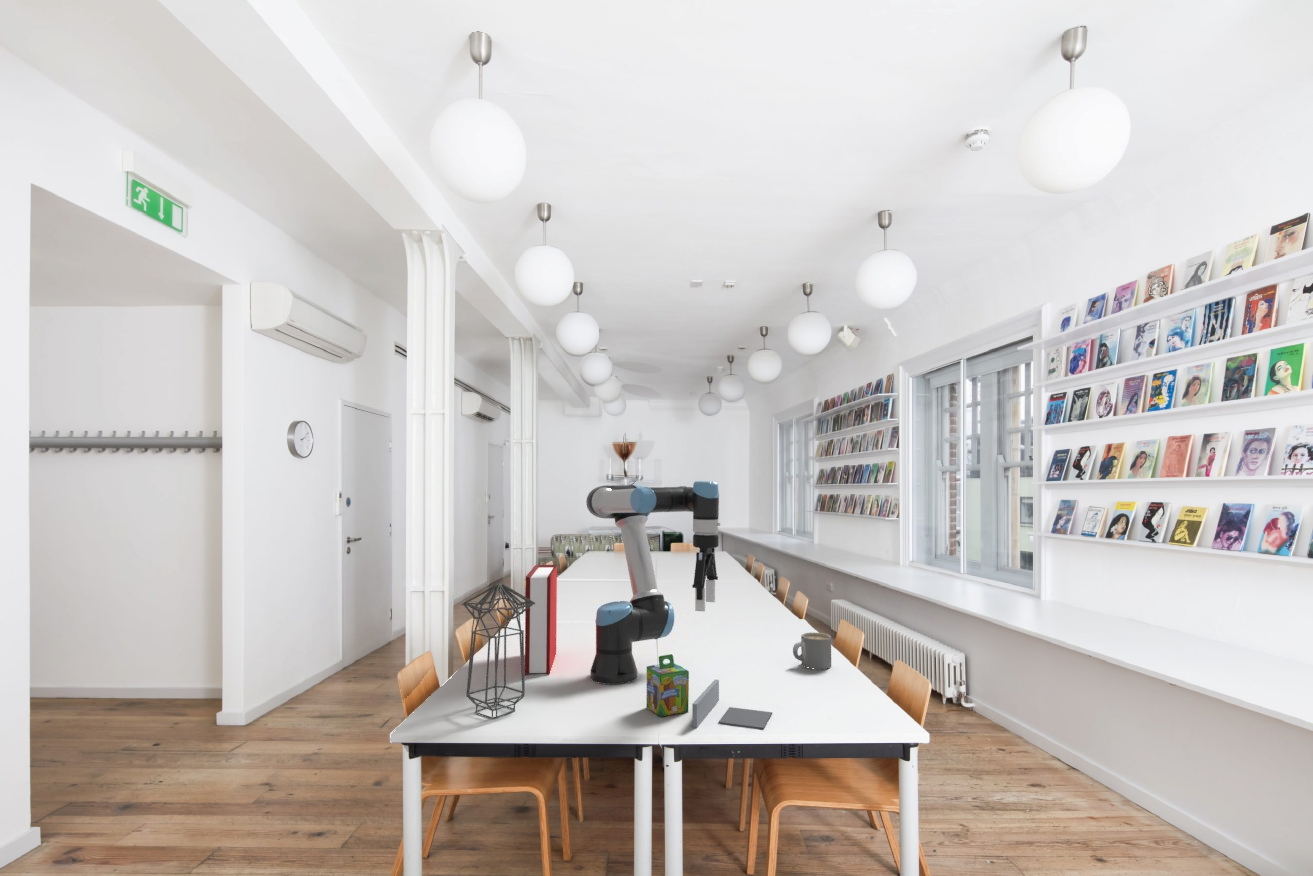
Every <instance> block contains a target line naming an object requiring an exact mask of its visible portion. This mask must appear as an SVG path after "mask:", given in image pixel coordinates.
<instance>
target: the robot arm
mask: <svg viewBox="0 0 1313 876" xmlns="http://www.w3.org/2000/svg"><path fill="white" fill-rule="evenodd" d="M719 507H720V493H719V484H718V482H716V481H715V480H712V481H711V480H696V481H694V482H693V485H692V486H685V485H683V486H681V485H680V486H665V487H663V486H662V487H661V486H660V487H658V486H657V487H656V486H655V487H648V486H642V485H634V484H622V485H621V484H620V485H618V484H617V485H613V484H612V485H600V486H599V485H598V486H597V487H595V488H593V489H592V490H590V491H589V493H588V494H587V497H586V508H587V510H588V511H589V513H590V514H591V515H592V516H594V517H596V518H599V519H605V520H607V519H614V524H615V527H617V528H619V529H620V532H621V539H622V542H623V549H624V554H625V555H624V556H625V560H626V564H627V571H628V574H629V575H628V576H629V581H630V585H631V586H630V587H631V592H632V597H631V599H630V600H629V601H626V600H621V601H611V602H607V603H604V604H601V606H599V607H598V608H597V610H596V616H595V617H596V618H595V655H594V659H593V661H592V666H591V668H590V680H591V679H592V680H591V681H593V682H595V683H598V682H599V683H598V684H603V683H605V684H604V685H622V684H627V683H631V682H633V681H635V680H636V679H638V667H637V665H636V661H635V658H634V654H633V643H635V642H642V641H649V640H658V639H661V638H666V637H667V636H669V635H670V633H672V631H673V627H674V625H675V612H674V611H675V610H674V607H673V605H672V604H671V603H670V602H669V601H667V600H665V598H664V594H663V593H662V592H660V591H659V588H658V585H657V580H656V575H655V570H654V565H653V560H652V555H651V550H650V545H649V541H648V540H649V539H648V533H647V529H646V522H647V521H648V519H649V515H650V514H652V513H675V512H676V513H678V512H679V513H681V512H682V513H683V512H689V513H690V512H691V513H692V517H693V518H692V532H693V533H694V534H693V535H692V546H693V547H694V548H699V552H696V554H695V555H696V556H695V557H696V558H695V559H696V560H695V566H694V569H695V570H694V579H693V584H692V585H691V586H692V588H693V589H694V593H695V597H694V598H695V599H694V600H695V601H694V602H695V604H694V606H695V608H694V609H695V612H706V603H716V581H717V580H719V577H718V574H717V566H716V565H717V564H716V556H715V555H716V554H715V552H716V551H715V549H716V548H718V547H719V538H720V537H719V534H718V533H719V527H721V523H720V522H719V513H720V512H719V510H720V508H719Z"/></svg>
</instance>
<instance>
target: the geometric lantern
mask: <svg viewBox="0 0 1313 876" xmlns="http://www.w3.org/2000/svg"><path fill="white" fill-rule="evenodd" d="M484 594H485V595H484ZM497 594H498V597H497ZM482 595H484V596H482ZM491 595H492V596H491ZM480 596H482V598H481V599H480V600H478V601H477V602H476V601H475V602H471V601H473V600H475V599H477V598H479V597H480ZM489 597H490V601H488V600H489ZM518 597H519V598H520V599H522V600H524V601H521V600H520V599H519V598H518ZM501 600H502V603H503V606H504V607H503V606H502V607H501V606H499V605H500V601H501ZM526 601H527V602H526ZM506 602H507V603H506ZM487 604H488V608H487V607H486V608H485V607H484V608H483V606H484V605H487ZM507 604H508V605H509V606H510V607H507ZM525 604H527V605H525ZM533 604H534V605H535V602H533V601H531V600H530V599H528V598H526V596H524V595H522V594H521V593H520V592H518V591H516V590H514V589H513V588H511V587H509V586H507V585H506V584H504V583H495V584H494V585H492V586H490V587H488V589H486V590H484V591H482V592H480V593H478V594H477V595H475V596H473V597H471V598H469V599H467V600H465V601H464V602H463V603H461V605H462V606H463V607H464V608H465V609H466V610H467V611H468V613H469V614H470V615H471V616H472V620H473V621H472V626H471V630H470V631H471V633H470V634H471V635H470V647H469V648H470V649H469V661H468V670H467V671H468V672H467V683H466V695H465V696H466V698H468V699H469V700H470V701H471V703H473V704H474V706H475V711H474V712H475V714H476V713H477V715H479V714H480V716H482V715H483V717H485V716H486V718H488V719H492V720H495V719H498V718H500V716H501V717H504V716H506V715H509V714H511V712H512V713H515V712H516V704H517V703H519V702H520V701H521V700H522V699H524V697H525V696H526V691H525V690H526V688H525V687H526V686H525V684H526V683H525V681H526V679H525V636H524V635H525V630H522V628H521V627H522V626H521V616H520V615H522V614H524V613H525V611H526V610H527V609H528V608H529V607H531V606H532V605H533ZM496 606H497V607H496ZM495 607H496V608H495ZM525 607H526V608H525ZM470 608H471V609H472V610H470ZM520 609H521V611H519V610H520ZM501 610H505V611H506V612H507V616H506V615H505V614H504V613H503V611H501ZM475 611H476V612H477V616H475ZM492 611H493V612H494V611H497V612H498V613H499V614H500V615H502V616H503V618H504V620H503V621H502V622H501V624H499V623H498V622H497V621H496V619H495V617H494V616H493V615H492V613H491V612H492ZM510 611H513V613H511V616H510ZM487 614H489V615H490V616H491V618H492V619H493V621H494V622H495V623H496V626H493V627H489V628H487V626H486V624H485V622H484V620H483V618H484V617H485V616H486V615H487ZM514 619H515V620H516V621H517V625H518V628H512V627H508V626H509V623H510V622H511V621H512V620H514ZM475 620H477V621H476V624H475ZM506 621H508V622H507V623H506V624H505V622H506ZM479 622H481V624H482V626H483V629H482V628H481V629H478V626H479ZM504 624H505V625H504ZM474 625H475V626H474ZM503 625H504V626H503ZM493 629H497V630H496V631H495V633H493V635H491V634H490V632H489V630H493ZM501 629H504V630H503V631H504V634H503V635H501ZM507 629H508V630H513V631H517V632H516V633H510V634H507ZM482 631H485V632H486V634H487V635H485V634H482V633H479V632H482ZM477 635H478V636H481V637H485V638H488V642H487V645H488V646H487V659H486V661H487V662H486V678H485V688H481V689H478V690H477V689H476V690H473V691H470V690H471V682H472V673H473V664H474V658H475V657H474V656H475V647H476V640H477V639H476V638H477V637H476V636H477ZM496 635H497V636H496ZM515 635H519V654H520V655H519V656H520V674H521V675H520V676H521V690H520V689H517V688H513V687H509V686H507V637H510V636H515ZM503 637H504V638H503ZM501 638H503V639H504V640H503V642H504V643H503V645H504V646H503V647H504V648H503V652H504V653H503V659H504V660H503V685H498V671H499V669H498V668H499V655H500V654H499V653H500V643H501V642H500V640H501ZM491 639H494V685H493V686H489V671H490V670H489V669H490V654H491V652H490V651H491ZM491 689H492V690H493V689H494V697H492V698H490V699H488V693H489V692H488V690H491ZM498 689H502V691H501V692H500V694H499V696H498ZM505 689H507V690H510V691H513V692H516V693H520V695H517V696H513V697H509V698H506V699H505V698H501V696H502V694H503V693H504V691H505ZM481 692H485V693H484V694H485V695H484V700H482V699H479V698H476V697H473V696H472V695H473V694H478V693H481ZM514 700H515V701H514ZM477 702H478V703H477ZM505 702H508V703H511V704H507V705H505V704H501V703H505ZM481 704H484V705H486V706H484V705H481ZM494 705H496V706H494ZM491 706H492V707H494V709H493V708H492V707H491ZM498 706H500V707H498ZM511 706H513V707H511ZM478 707H479V708H480V709H478ZM506 707H507V709H509V708H510V709H511V710H510V711H508V712H505V713H503V714H499V715H498V710H500V709H501V710H502V709H506ZM483 709H484V710H485V709H486V710H488V711H491V716H489V715H487V714H484V713H480V712H481V711H483ZM480 710H481V711H480ZM477 711H478V712H477ZM494 711H495V716H494ZM503 715H504V716H503Z"/></svg>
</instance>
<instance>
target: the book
mask: <svg viewBox="0 0 1313 876" xmlns="http://www.w3.org/2000/svg"><path fill="white" fill-rule="evenodd" d="M557 578H558V565H556V564H536V565H534V566H533V567H532V569H531V570H530V571H529V572H528V573H527V574H526V575H525V597H526V598H528V599H530V600H531V601H533V602H535V605H534V604H533V605H532V606H531V607H529V608H528V609H527V610H526V611H524V613H525V614H524V615H525V617H524V619H525V622H524V628H525V629H524V635H525V636H524V676H527V675H529V674H547V675H549V674H551V672H550V671H552V669H551V668H553V666H552V665H554V662H555V659H556V656H555V655H557V619H558V618H557V612H558V611H557V603H558V601H557V600H558V599H557V597H558V596H557V595H558V593H557V591H558V584H557V583H558V579H557ZM525 602H527V601H525ZM524 605H527V604H524ZM525 608H526V607H524V609H525ZM526 674H527V675H526Z"/></svg>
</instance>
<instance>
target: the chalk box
mask: <svg viewBox="0 0 1313 876" xmlns="http://www.w3.org/2000/svg"><path fill="white" fill-rule="evenodd" d="M665 660H669V663H667V662H666V663H664V661H665ZM689 672H690V671H689V670H688V669H687V668H684V667H682V666H681V665H679V664H676V663H675V661H674V655H673V654H671V653H670V654H663V655H659V656H658V664H652V665H648V666H646V708H647V709H648V708H649V709H648V710H650V711H651V710H652V712H653V713H654V714H656V715H658V717H661V718H662V717H666V716H667V715H668V716H671V715H673V714H674V715H679V713H680V714H685V712H687V713H689V699H690V698H689V689H690V688H689V687H690V686H689V685H690V681H689V679H690V675H689V674H690V673H689ZM668 716H667V717H668Z"/></svg>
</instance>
